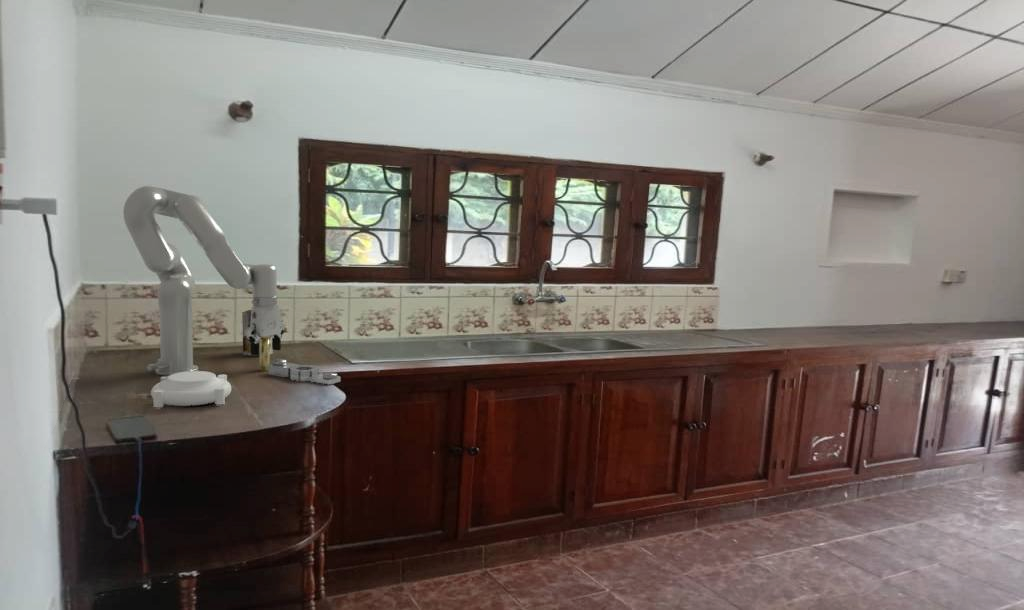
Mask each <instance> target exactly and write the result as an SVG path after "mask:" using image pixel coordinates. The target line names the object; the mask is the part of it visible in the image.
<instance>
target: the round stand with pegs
mask: <svg viewBox="0 0 1024 610" xmlns="http://www.w3.org/2000/svg"><path fill="white" fill-rule="evenodd" d="M231 392H232V385H231V383H230V382H229V381H228V375H227V374H218V375H216V374H215V373H214V372H211V371H203V370H198V371H188V372H180V373H175V374H172V375H170V376H167V375H165V376H161V377H160V382H158V383H156V384H155V385H154V386H153V387H152V388H151V390H150V395H151V398H152V399H153V401H152V402H153V404H152V405H153V408H154V407H163V406H164V407H165V405H166V406H172V405H173V406H174V407H178V406H179V407H188V406H189V407H190V406H191V405H192V406H200V405H201V406H202V405H207V404H208V403H209V404H212V403H214V405H215V404H220V405H221V404H225V405H226V402H225V400H226V399H225V398H227V397H228V396H229V395H230V394H231Z"/></svg>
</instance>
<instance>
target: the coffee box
mask: <svg viewBox="0 0 1024 610" xmlns="http://www.w3.org/2000/svg"><path fill="white" fill-rule="evenodd" d="M251 311H252V309H249V310H245V311H243V312H242V313H241V315H242V317H241V320H242V322H241V323H242V355H243V356H252V357H253V356H254V357H255V356H256V357H260V339H259V341H258V343H259V355H258V356H257V355H251V343H249V341H248V340H247V338H246V335H245V333H244V332H245V331H246V330H247V329H248V328H249V327H250V321H251ZM251 336H252V335H251ZM255 338H256V337H255ZM255 338H254V339H255ZM272 338H274V337H273V336H271V338H270V355H272V354H273V353H274V350H273V349H272Z"/></svg>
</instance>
